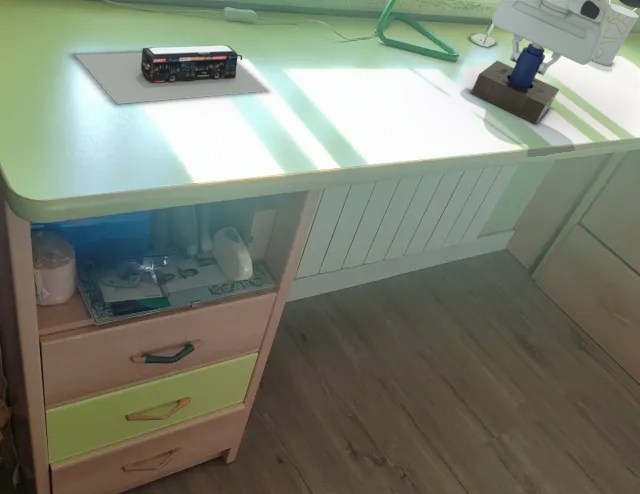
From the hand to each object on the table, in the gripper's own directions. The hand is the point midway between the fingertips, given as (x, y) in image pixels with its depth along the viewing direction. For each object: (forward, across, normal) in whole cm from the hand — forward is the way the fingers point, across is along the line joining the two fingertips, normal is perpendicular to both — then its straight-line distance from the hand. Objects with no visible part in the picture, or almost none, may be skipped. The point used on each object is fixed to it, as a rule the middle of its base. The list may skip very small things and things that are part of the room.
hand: (527, 67), depth 118 cm
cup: (+7, +8, +56) cm, 57 cm away
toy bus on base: (+7, -42, -53) cm, 68 cm away
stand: (+7, -16, +28) cm, 33 cm away
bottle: (+6, 0, 0) cm, 6 cm away
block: (+7, 0, 0) cm, 7 cm away
